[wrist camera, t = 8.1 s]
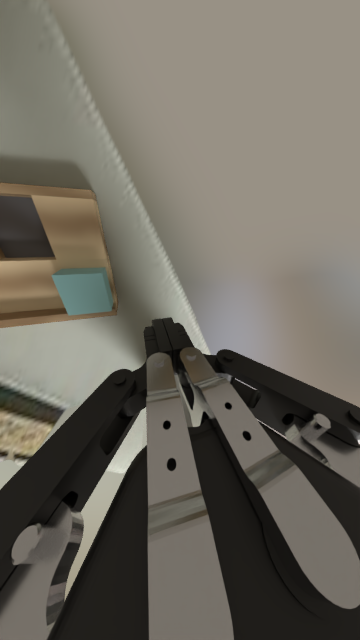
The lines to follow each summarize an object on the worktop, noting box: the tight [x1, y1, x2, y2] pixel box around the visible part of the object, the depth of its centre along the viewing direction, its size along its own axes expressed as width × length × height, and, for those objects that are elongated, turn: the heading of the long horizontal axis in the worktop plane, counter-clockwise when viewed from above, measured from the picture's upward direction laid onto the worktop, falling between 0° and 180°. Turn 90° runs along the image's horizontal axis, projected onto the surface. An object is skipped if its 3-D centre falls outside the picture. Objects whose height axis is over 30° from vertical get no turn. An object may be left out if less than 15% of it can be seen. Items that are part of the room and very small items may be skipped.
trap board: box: [0, 183, 118, 328], centre depth 17 cm, size 14×22×4 cm, turn 88°
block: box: [51, 267, 113, 316], centre depth 19 cm, size 5×5×3 cm
